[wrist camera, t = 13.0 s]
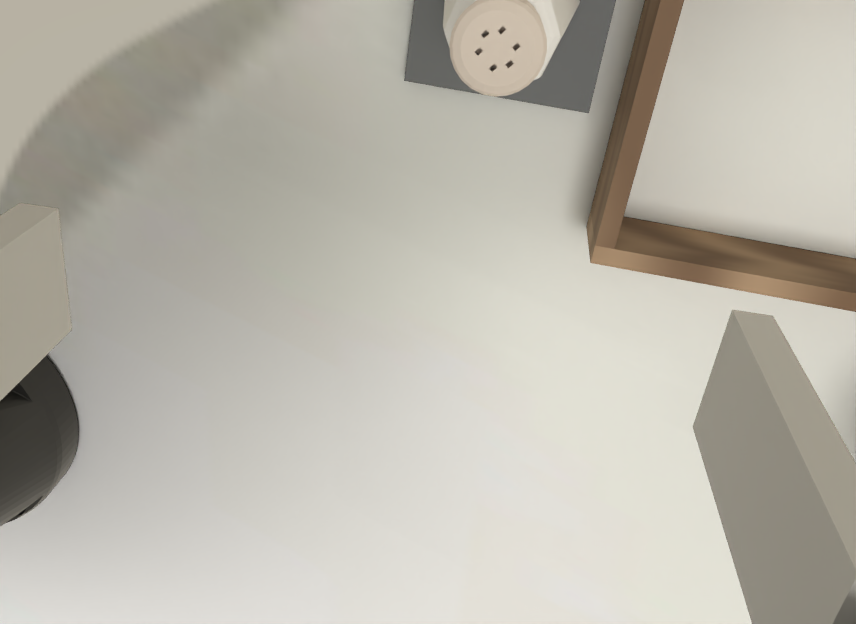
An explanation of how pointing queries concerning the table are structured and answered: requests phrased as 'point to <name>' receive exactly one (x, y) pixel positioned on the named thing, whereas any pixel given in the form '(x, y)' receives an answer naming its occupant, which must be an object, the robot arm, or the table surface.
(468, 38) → the salt shaker
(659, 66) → the tray
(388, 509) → the table surface
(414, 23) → the mat
